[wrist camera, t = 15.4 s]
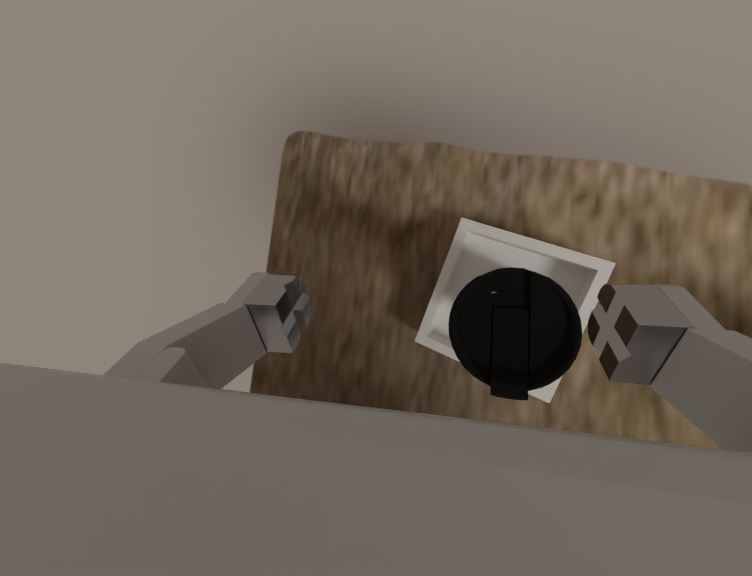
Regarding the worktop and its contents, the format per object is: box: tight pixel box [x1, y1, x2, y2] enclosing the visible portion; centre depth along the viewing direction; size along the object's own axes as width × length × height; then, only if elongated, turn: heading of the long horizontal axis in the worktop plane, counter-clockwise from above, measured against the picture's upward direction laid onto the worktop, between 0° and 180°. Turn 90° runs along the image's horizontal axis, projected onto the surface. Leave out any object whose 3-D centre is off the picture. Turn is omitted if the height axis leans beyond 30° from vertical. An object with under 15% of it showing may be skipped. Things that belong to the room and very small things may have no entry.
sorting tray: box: [415, 218, 616, 403], centre depth 33 cm, size 14×14×4 cm
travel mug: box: [448, 267, 582, 400], centre depth 24 cm, size 6×7×20 cm
